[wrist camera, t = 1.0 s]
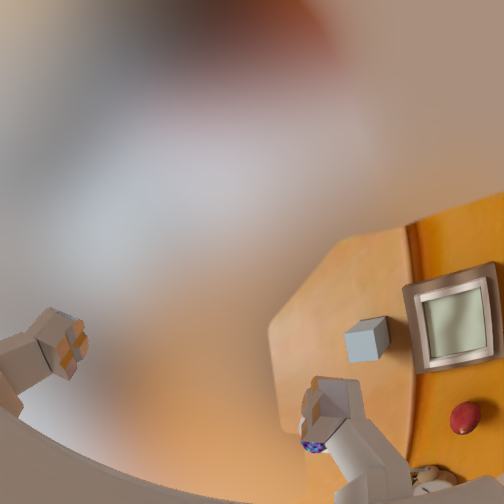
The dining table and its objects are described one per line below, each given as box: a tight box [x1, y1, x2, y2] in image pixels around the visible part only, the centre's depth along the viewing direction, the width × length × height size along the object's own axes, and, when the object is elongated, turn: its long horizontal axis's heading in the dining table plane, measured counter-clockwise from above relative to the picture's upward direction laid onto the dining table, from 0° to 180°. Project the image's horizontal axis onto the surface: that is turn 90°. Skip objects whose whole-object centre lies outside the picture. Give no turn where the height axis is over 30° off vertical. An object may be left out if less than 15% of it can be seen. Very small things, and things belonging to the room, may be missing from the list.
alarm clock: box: [410, 465, 457, 496], centre depth 36 cm, size 11×5×15 cm
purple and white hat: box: [299, 417, 330, 453], centre depth 53 cm, size 12×12×5 cm
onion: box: [450, 402, 481, 435], centre depth 32 cm, size 6×6×8 cm
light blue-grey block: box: [344, 316, 391, 363], centre depth 44 cm, size 5×5×8 cm
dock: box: [402, 261, 504, 374], centre depth 36 cm, size 16×15×4 cm
